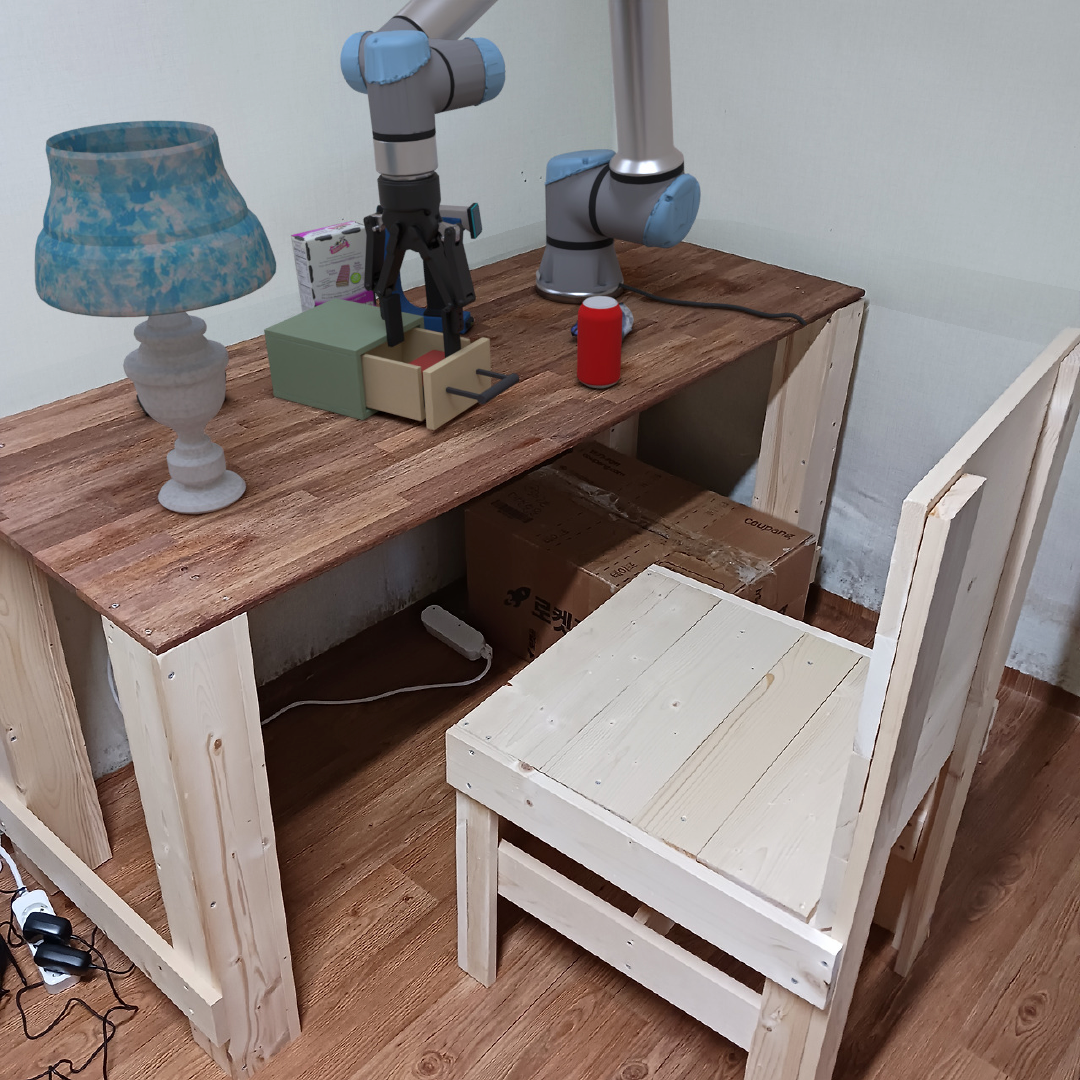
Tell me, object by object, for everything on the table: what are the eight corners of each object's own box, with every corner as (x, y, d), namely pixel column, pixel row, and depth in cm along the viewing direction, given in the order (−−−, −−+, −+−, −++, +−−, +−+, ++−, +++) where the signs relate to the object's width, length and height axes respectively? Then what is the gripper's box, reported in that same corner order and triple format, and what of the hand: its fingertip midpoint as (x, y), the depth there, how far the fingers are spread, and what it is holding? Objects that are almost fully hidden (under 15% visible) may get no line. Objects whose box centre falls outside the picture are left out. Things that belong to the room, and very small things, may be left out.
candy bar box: (363, 320, 175) (352, 219, 166) (380, 328, 171) (370, 225, 163) (303, 337, 168) (289, 233, 160) (319, 346, 165) (306, 239, 156)
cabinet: (428, 382, 153) (423, 316, 148) (362, 420, 142) (355, 350, 137) (342, 361, 160) (335, 297, 155) (273, 396, 149) (263, 329, 144)
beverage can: (627, 379, 153) (630, 298, 147) (608, 394, 148) (610, 311, 142) (589, 371, 156) (590, 291, 149) (569, 386, 151) (569, 304, 145)
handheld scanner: (479, 335, 168) (475, 208, 158) (382, 329, 171) (372, 204, 161) (486, 326, 172) (483, 201, 162) (391, 320, 175) (382, 197, 165)
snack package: (662, 341, 166) (618, 317, 174) (660, 303, 162) (614, 281, 170) (600, 369, 162) (557, 344, 170) (595, 331, 158) (552, 307, 166)
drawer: (530, 402, 144) (530, 347, 140) (475, 441, 134) (472, 382, 130) (406, 372, 153) (402, 320, 149) (345, 407, 143) (339, 351, 139)
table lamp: (214, 433, 139) (153, 105, 118) (349, 482, 127) (308, 128, 106) (51, 509, 122) (-53, 143, 101) (189, 573, 111) (103, 175, 90)
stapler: (436, 382, 147) (434, 348, 145) (457, 387, 146) (455, 352, 143) (402, 403, 141) (399, 368, 139) (423, 408, 140) (420, 373, 137)
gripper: (498, 174, 127) (507, 353, 139) (358, 158, 137) (377, 327, 149) (463, 188, 122) (476, 373, 134) (319, 171, 131) (343, 345, 143)
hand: (424, 349), depth 141 cm, fingers open, 9 cm apart
